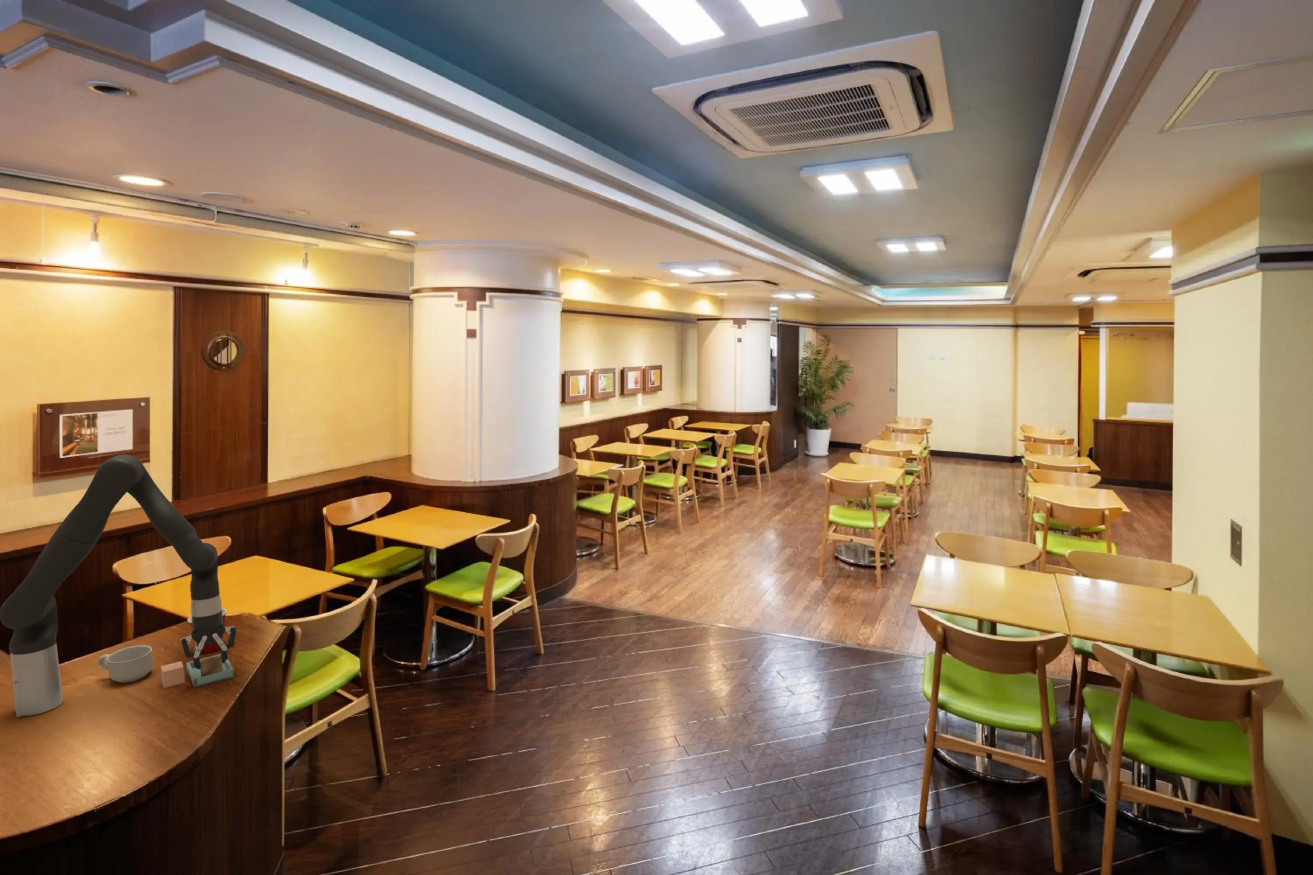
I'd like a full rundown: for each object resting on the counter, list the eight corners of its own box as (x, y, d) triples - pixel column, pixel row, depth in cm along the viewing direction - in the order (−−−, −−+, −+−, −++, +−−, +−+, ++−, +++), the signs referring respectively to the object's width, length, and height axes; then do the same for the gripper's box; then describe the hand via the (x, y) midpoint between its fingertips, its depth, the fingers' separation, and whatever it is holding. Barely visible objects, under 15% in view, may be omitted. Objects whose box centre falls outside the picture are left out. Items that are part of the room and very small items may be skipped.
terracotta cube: (164, 688, 192) (162, 672, 191) (162, 682, 196) (160, 666, 195) (185, 682, 195) (183, 666, 195) (182, 676, 199) (181, 661, 198)
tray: (194, 687, 192) (193, 679, 191) (186, 670, 203) (186, 662, 202) (234, 676, 198) (233, 669, 198) (225, 660, 209) (224, 653, 209)
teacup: (163, 670, 203) (161, 645, 202) (132, 687, 192) (129, 661, 191) (122, 668, 204) (119, 643, 203) (88, 685, 194) (86, 659, 193)
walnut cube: (203, 681, 194) (201, 665, 194) (201, 675, 198) (199, 659, 198) (223, 676, 198) (222, 660, 197) (220, 670, 201) (219, 654, 201)
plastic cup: (195, 645, 221) (192, 610, 220) (232, 640, 225) (230, 606, 224) (186, 658, 211) (183, 622, 210) (225, 652, 215) (222, 617, 214)
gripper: (178, 620, 188) (183, 677, 190) (237, 608, 198) (241, 662, 200) (175, 613, 194) (180, 668, 196) (232, 601, 203) (236, 654, 205)
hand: (211, 664), depth 198 cm, fingers open, 5 cm apart
